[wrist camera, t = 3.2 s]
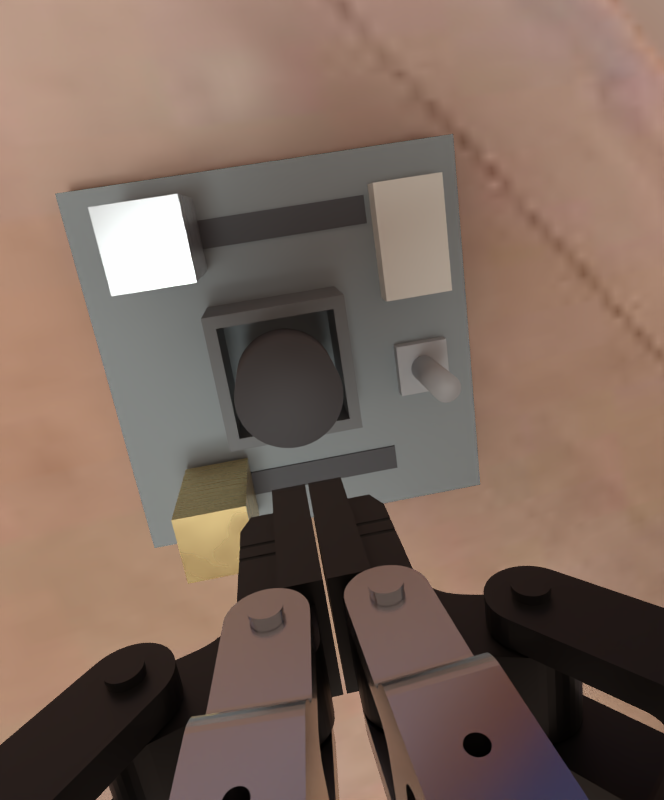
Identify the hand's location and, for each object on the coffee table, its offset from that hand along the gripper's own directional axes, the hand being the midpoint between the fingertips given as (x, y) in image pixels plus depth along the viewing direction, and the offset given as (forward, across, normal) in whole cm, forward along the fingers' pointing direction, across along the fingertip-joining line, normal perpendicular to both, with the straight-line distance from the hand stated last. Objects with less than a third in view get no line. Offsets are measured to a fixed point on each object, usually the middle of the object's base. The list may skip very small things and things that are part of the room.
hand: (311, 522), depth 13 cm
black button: (+12, 0, 0) cm, 12 cm away
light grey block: (+15, +4, -6) cm, 17 cm away
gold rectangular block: (+15, +4, +6) cm, 17 cm away
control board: (+18, 0, 0) cm, 18 cm away
